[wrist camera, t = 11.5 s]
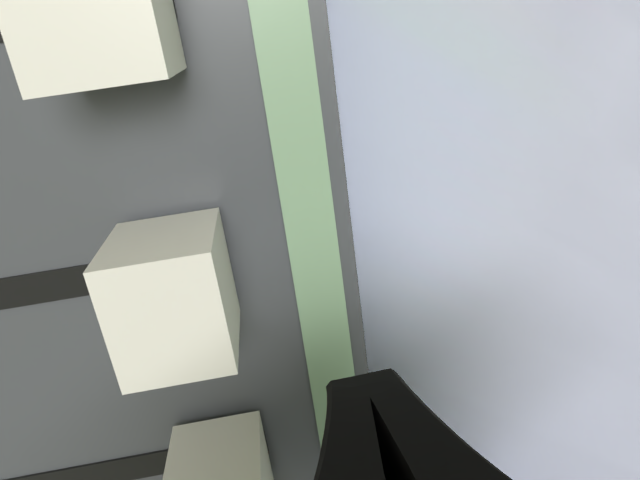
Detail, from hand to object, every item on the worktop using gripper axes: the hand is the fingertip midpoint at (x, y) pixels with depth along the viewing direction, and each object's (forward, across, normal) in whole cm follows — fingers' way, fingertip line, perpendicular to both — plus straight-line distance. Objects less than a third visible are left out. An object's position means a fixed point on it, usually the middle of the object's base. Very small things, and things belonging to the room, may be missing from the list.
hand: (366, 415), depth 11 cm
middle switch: (+7, +4, -1) cm, 8 cm away
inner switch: (+7, +5, +6) cm, 11 cm away
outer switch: (+7, +4, -8) cm, 12 cm away
